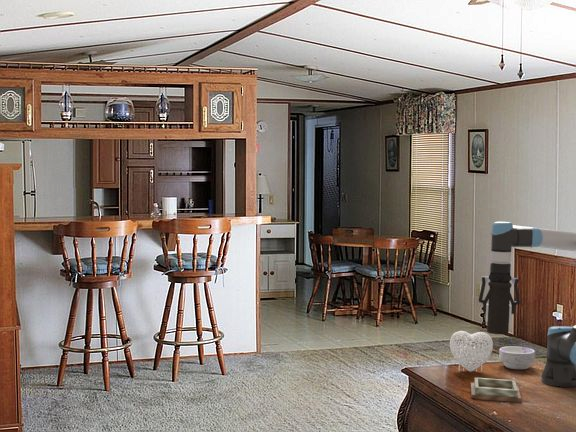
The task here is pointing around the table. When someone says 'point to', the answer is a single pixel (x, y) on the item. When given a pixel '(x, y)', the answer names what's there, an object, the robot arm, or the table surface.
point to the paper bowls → (517, 357)
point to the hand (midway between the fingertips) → (498, 321)
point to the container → (498, 307)
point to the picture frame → (495, 390)
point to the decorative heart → (471, 349)
